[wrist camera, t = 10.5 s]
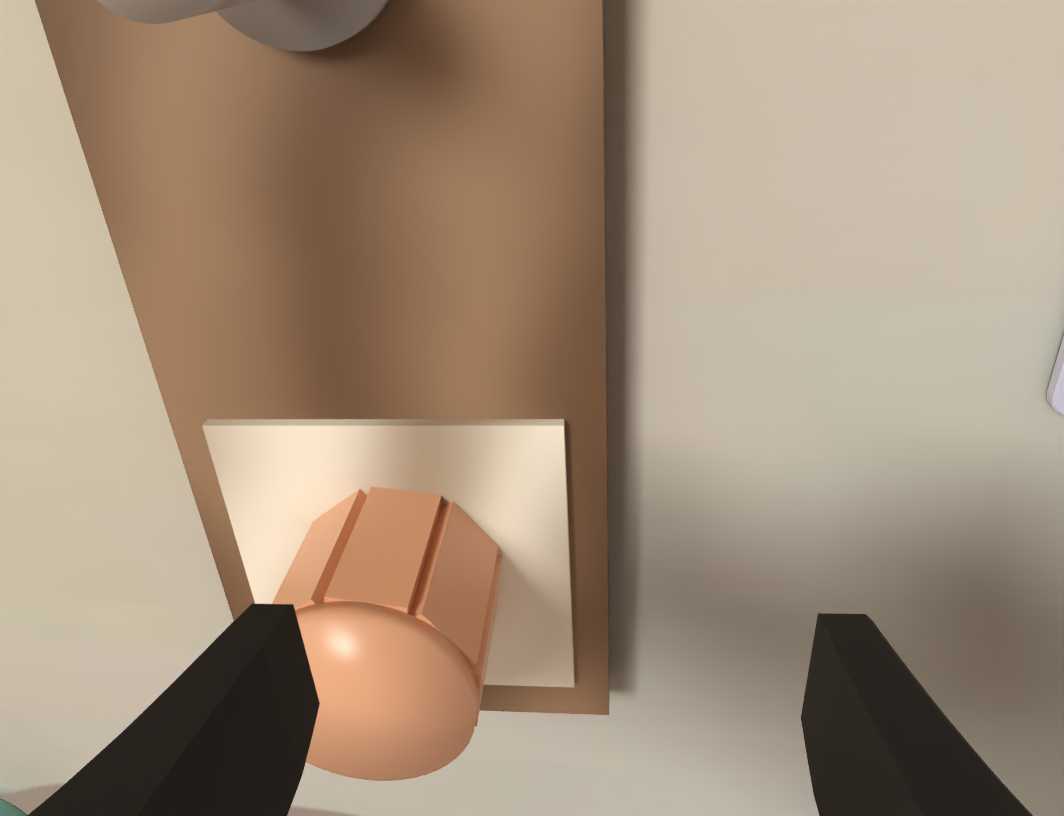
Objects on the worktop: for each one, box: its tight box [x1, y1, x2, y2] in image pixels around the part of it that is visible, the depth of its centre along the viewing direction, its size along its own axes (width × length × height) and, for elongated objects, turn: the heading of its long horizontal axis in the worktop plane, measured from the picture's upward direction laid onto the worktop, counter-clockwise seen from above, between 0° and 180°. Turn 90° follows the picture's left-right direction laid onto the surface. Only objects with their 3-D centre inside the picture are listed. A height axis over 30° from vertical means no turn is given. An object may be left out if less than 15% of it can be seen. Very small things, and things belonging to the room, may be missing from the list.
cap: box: [272, 486, 502, 781], centre depth 21 cm, size 5×5×5 cm
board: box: [35, 0, 609, 715], centre depth 17 cm, size 11×28×8 cm, turn 3°
